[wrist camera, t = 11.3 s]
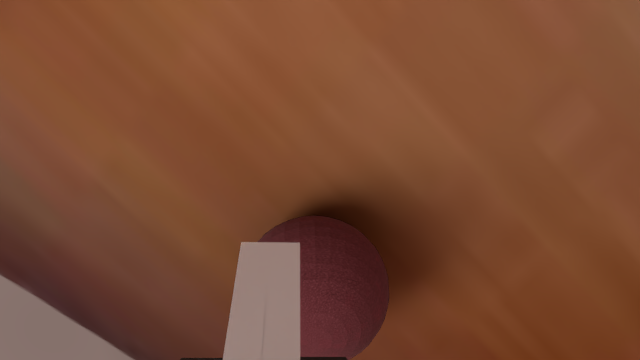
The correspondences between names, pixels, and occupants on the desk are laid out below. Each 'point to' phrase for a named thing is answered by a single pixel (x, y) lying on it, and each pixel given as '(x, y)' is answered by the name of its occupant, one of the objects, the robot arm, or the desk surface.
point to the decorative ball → (335, 285)
